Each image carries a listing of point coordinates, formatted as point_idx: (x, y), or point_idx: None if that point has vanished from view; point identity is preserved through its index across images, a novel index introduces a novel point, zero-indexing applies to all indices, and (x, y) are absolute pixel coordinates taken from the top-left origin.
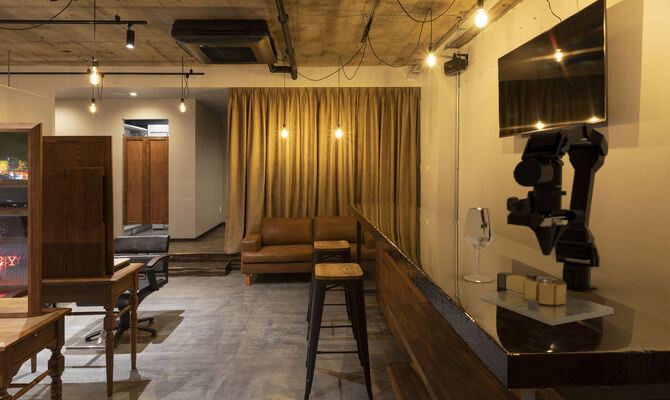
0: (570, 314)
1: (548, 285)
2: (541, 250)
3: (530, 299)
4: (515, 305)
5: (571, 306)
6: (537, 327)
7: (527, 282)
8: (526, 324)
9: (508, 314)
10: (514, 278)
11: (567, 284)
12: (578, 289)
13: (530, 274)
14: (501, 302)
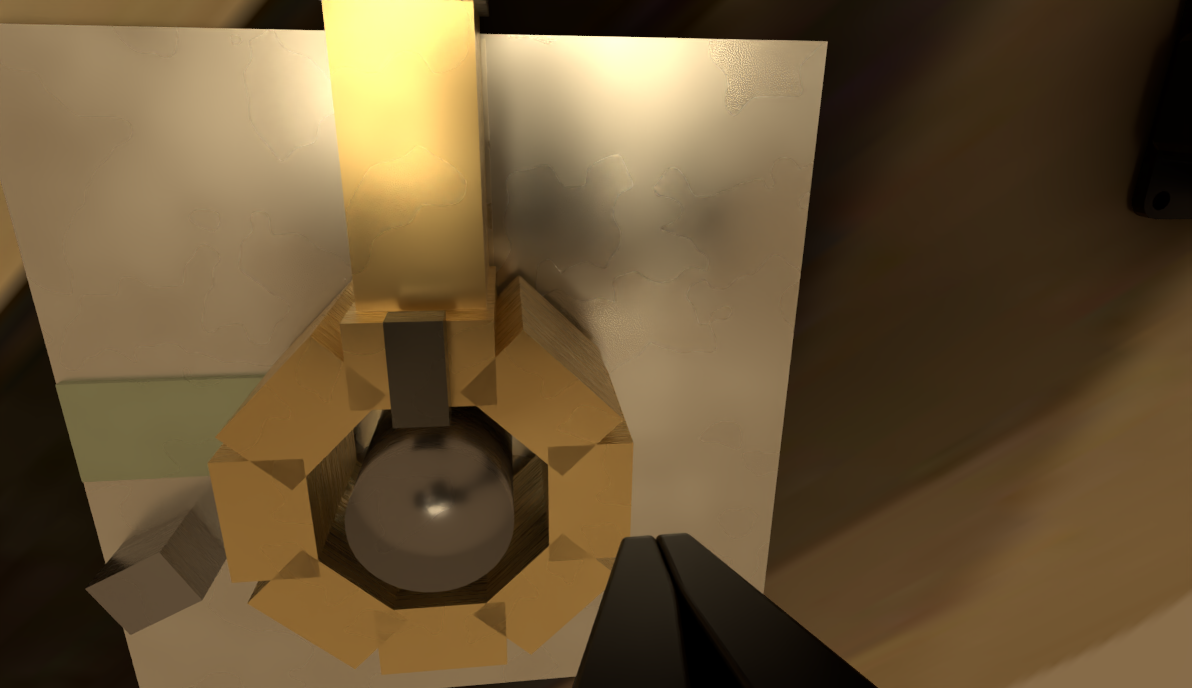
0: (357, 678)
1: (320, 642)
2: (608, 580)
3: (136, 567)
4: (76, 454)
5: None
6: (45, 678)
7: (216, 482)
8: (5, 629)
9: (3, 456)
10: (341, 157)
11: (1176, 101)
12: (1140, 202)
13: (417, 360)
14: (43, 308)
